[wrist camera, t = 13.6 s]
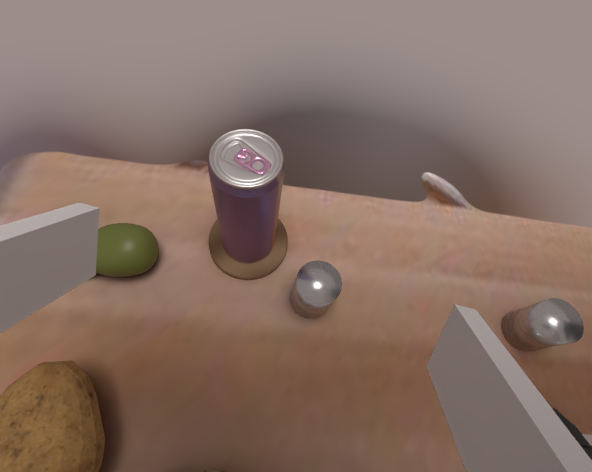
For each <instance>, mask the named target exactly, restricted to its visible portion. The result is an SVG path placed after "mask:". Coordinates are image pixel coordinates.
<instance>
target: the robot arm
mask: <svg viewBox="0 0 592 472" xmlns="http://www.w3.org/2000/svg"><path fill="white" fill-rule="evenodd" d="M98 223H99V208H97V207H94V206H90V205H86V204H83V203H76V204H73V205H69V206H66V207H63V208H59V209H56V210H52V211H49V212H45V213H42V214H39V215H35V216H32V217H28V218H25V219H21V220H18V221H15V222H11V223H8V224H4V225H1V226H0V334H1V333H2V332H4V331H5V330H7V329H9V328H10V327H12V326H14V325H15V324H17V323H18V322H20V321H22V320H23V319H25V318H27V317H28V316H30V315H32V314H33V313H35V312H36V311H38V310H40V309H41V308H43V307H45V306H46V305H48V304H49V303H51V302H53V301H54V300H56V299H58V298H59V297H61V296H63V295H64V294H66V293H67V292H69V291H71V290H72V289H74V288H76V287H77V286H79V285H80V284H82V283H84V282H85V281H87V280H89V279H90V278H92V277H93V276H95V275H96V261H97V242H98ZM426 367H427V370H428V372H429V375H430V378H431V380H432V383H433V386H434V388H435V391H436V393H437V396H438V399H439V401H440V404H441V407H442V409H443V412H444V415H445V417H446V420H447V423H448V425H449V428H450V431H451V433H452V436H453V438H454V441H455V444H456V446H457V449H458V452H459V454H460V457H461V460H462V462H463V465H464V468H465V470H466V472H592V446H591V445H590V444H589V443H588V441H587V440H586V439H585V438H584V436H583V435H582V434H581V433H580V431H579V430H578V429H577V428H576V427H575V426H574V425H573V424H572V423H571V422H570V421H568V420H567V419H566V418H565V417H564V416H563V415H562V414H560V413H559V412H558V411H557V410H556V409H554V408H551V407H550V405H549V404H548V403H547V401H546V400H545V399H544V398H543V396H542V395H541V394H540V392H539V391H538V390H537V388H536V387H535V386H534V385H533V383H532V382H531V381H530V379H529V378H528V377H527V375H526V374H525V373H524V372H523V370H522V369H521V368H520V366H519V365H518V364H517V362H516V361H515V360H514V359H513V357H512V356H511V355H510V353H509V352H508V351H507V349H506V348H505V347H504V346H503V344H502V343H501V342H500V340H499V339H498V338H497V336H496V335H495V334H494V333H493V331H492V330H491V329H490V327H489V326H488V325H487V323H486V322H485V321H484V320H483V318H482V317H481V316H480V314H479V313H478V312H477V310H475V309H471V308H467V307H464V306H460V305H456V304H454V307H453V309H452V311H451V313H450V315H449V318H448V320H447V322H446V324H445V326H444V329H443V331H442V333H441V335H440V338H439V340H438V342H437V344H436V346H435V349H434V351H433V353H432V355H431V357H430V360H429V362H428V364H427V366H426Z"/></svg>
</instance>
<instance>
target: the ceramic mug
mask: <svg viewBox="0 0 592 472" xmlns="http://www.w3.org/2000/svg"><path fill="white" fill-rule="evenodd" d="M205 472H223V471H220V470H214V469H211V470H208V471H205Z"/></svg>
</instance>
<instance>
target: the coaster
mask: <svg viewBox="0 0 592 472" xmlns="http://www.w3.org/2000/svg"><path fill="white" fill-rule="evenodd" d="M287 243H288V240H287V233H286V230H285V228H284V226H283V224H282V223H281V221H280V220H279V219H278V220H277V228H276V235H275V242H274V246H273V248H272V250H271V251H270V253H269V254H268V255H267V256H265V257H264V258H262V259H260V260H258V261H254V262H242V261H238V260H236V259H234V258H232V257H231V256H230V255H229V254H228V253H227V252H226V251H225V249H224V247H223V244H222V239H221V234H220V229H219V224H218V220H217V221H216V222H215V224H214V225H213V227H212V229H211V232H210V236H209V248H210V252H211V255H212V258H213V260H214V262H215V263H216V265H217V266H218V267H219V268H220V269H221V270H222V271H223V272H225V273H226V274H228V275H230V276H232V277H234V278H238V279H244V280H252V279H258V278H262V277H264V276H267V275H268V274H270V273H272V272H273V271H274V270H275V269H276V268H277V267H278V266H279V265H280V264H281V262H282V261H283V259H284V256H285V254H286V250H287Z"/></svg>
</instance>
